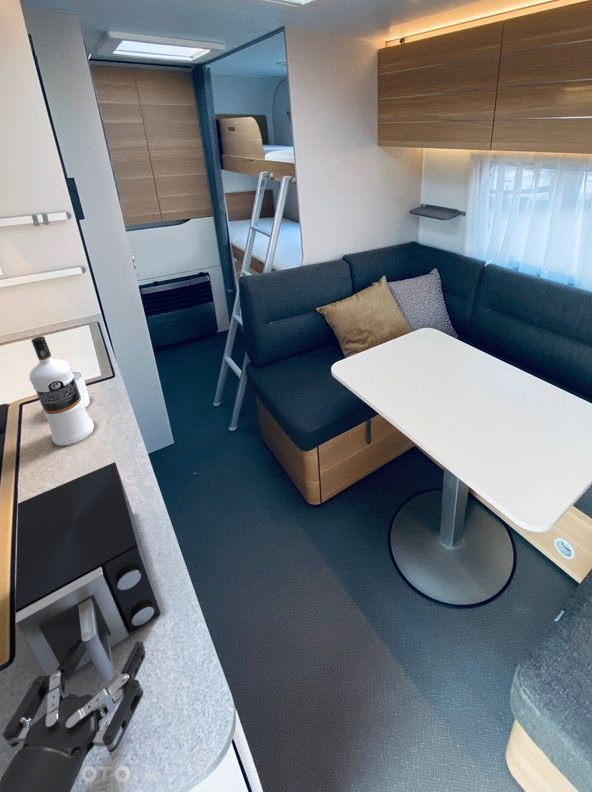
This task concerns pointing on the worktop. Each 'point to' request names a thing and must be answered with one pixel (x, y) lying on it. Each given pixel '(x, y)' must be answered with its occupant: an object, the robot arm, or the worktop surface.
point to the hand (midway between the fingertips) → (112, 643)
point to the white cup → (81, 387)
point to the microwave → (84, 544)
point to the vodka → (59, 397)
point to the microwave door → (75, 624)
